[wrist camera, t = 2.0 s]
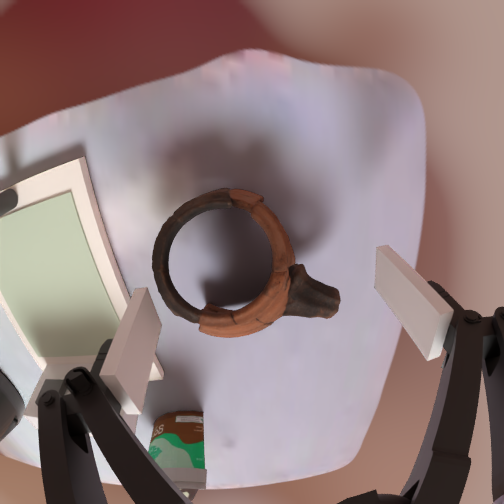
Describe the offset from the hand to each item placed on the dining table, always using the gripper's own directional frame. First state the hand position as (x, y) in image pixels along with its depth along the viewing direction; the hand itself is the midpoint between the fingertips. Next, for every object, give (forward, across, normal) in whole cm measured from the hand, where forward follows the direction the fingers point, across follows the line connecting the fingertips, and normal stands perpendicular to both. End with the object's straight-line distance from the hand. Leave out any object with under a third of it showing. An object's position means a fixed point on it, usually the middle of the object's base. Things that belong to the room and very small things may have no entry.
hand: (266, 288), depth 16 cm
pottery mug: (+6, -1, -1) cm, 6 cm away
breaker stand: (+5, -18, -1) cm, 18 cm away
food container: (+6, -14, -21) cm, 26 cm away
